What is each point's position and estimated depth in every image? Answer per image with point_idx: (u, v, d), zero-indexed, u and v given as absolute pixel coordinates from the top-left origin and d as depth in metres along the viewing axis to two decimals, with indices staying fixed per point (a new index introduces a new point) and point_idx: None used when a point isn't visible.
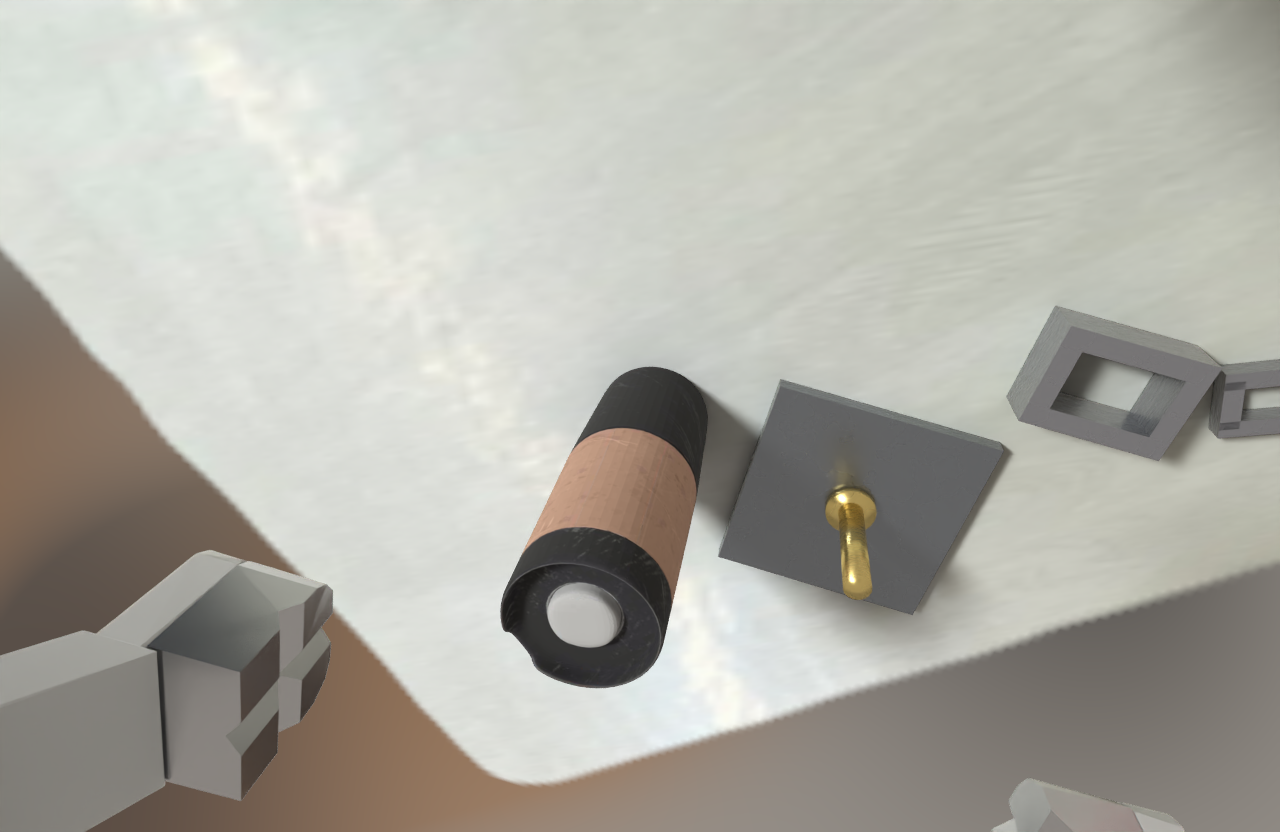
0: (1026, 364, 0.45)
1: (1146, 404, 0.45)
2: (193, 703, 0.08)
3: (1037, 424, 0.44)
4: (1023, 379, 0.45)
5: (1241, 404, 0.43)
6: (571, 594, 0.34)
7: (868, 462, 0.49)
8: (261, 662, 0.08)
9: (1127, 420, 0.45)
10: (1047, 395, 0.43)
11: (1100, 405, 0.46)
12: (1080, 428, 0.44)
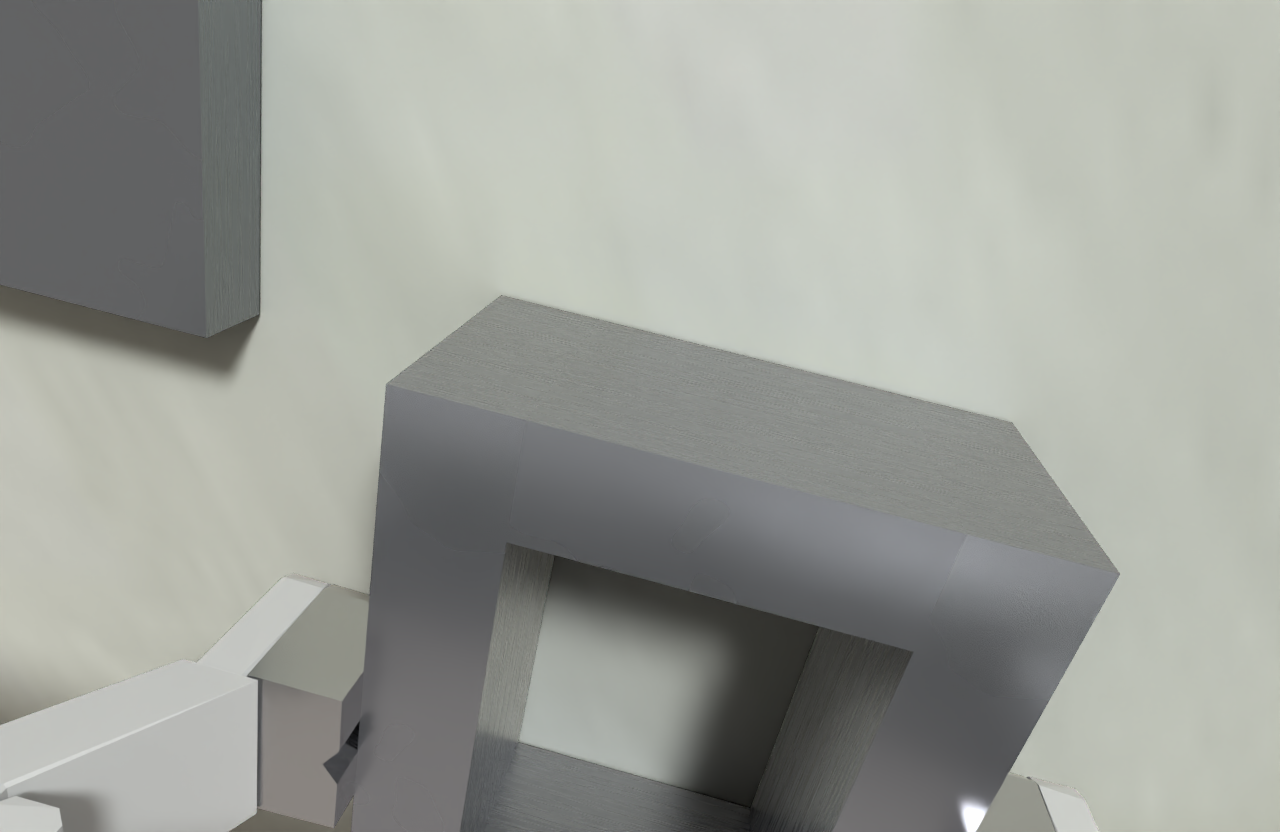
0: (697, 354, 0.09)
1: (570, 820, 0.11)
2: (291, 731, 0.08)
3: (388, 495, 0.07)
4: (626, 355, 0.08)
5: None
6: None
7: None
8: (357, 689, 0.08)
9: (492, 791, 0.10)
10: (595, 517, 0.07)
11: (529, 663, 0.11)
12: (418, 698, 0.08)
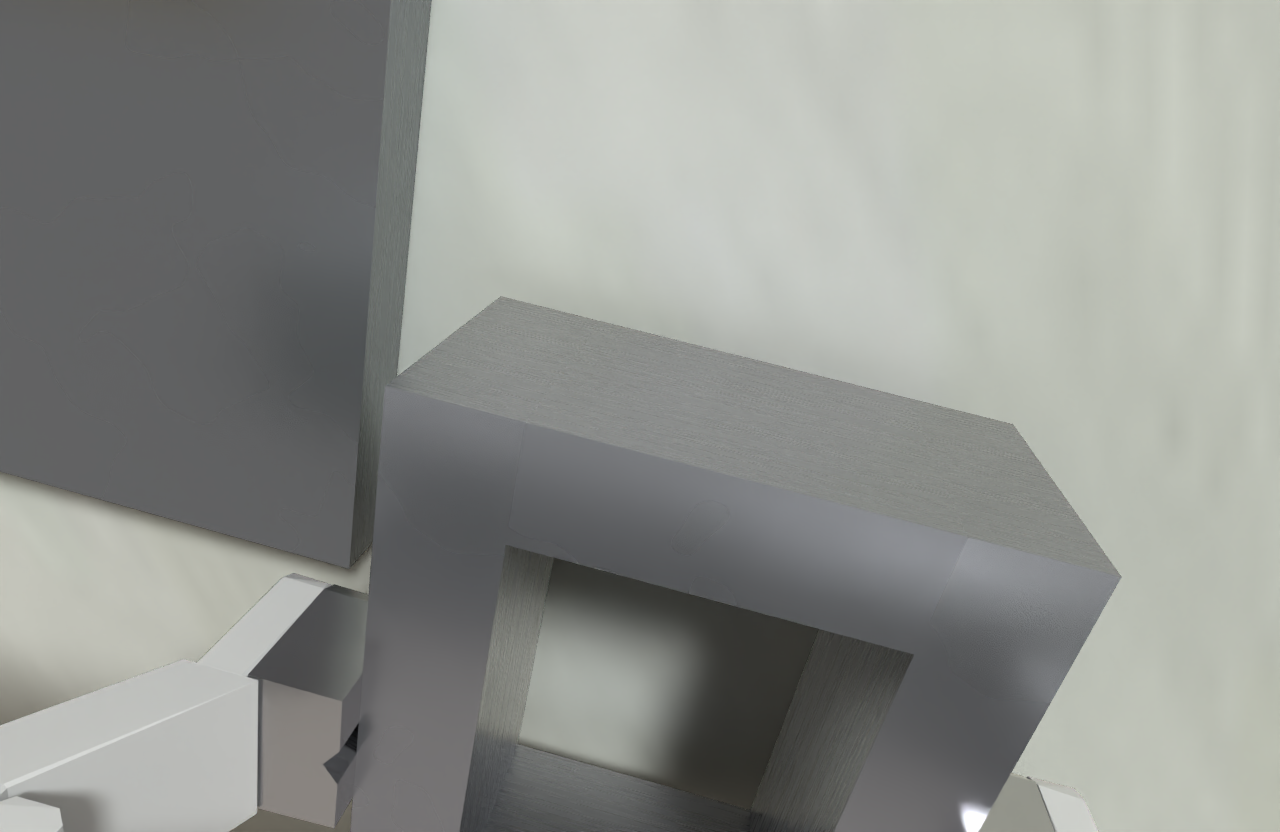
0: (697, 355, 0.09)
1: (570, 822, 0.11)
2: (291, 731, 0.08)
3: (387, 496, 0.07)
4: (626, 356, 0.08)
5: None
6: None
7: None
8: (357, 689, 0.08)
9: (491, 793, 0.10)
10: (595, 519, 0.07)
11: (529, 665, 0.11)
12: (417, 700, 0.08)
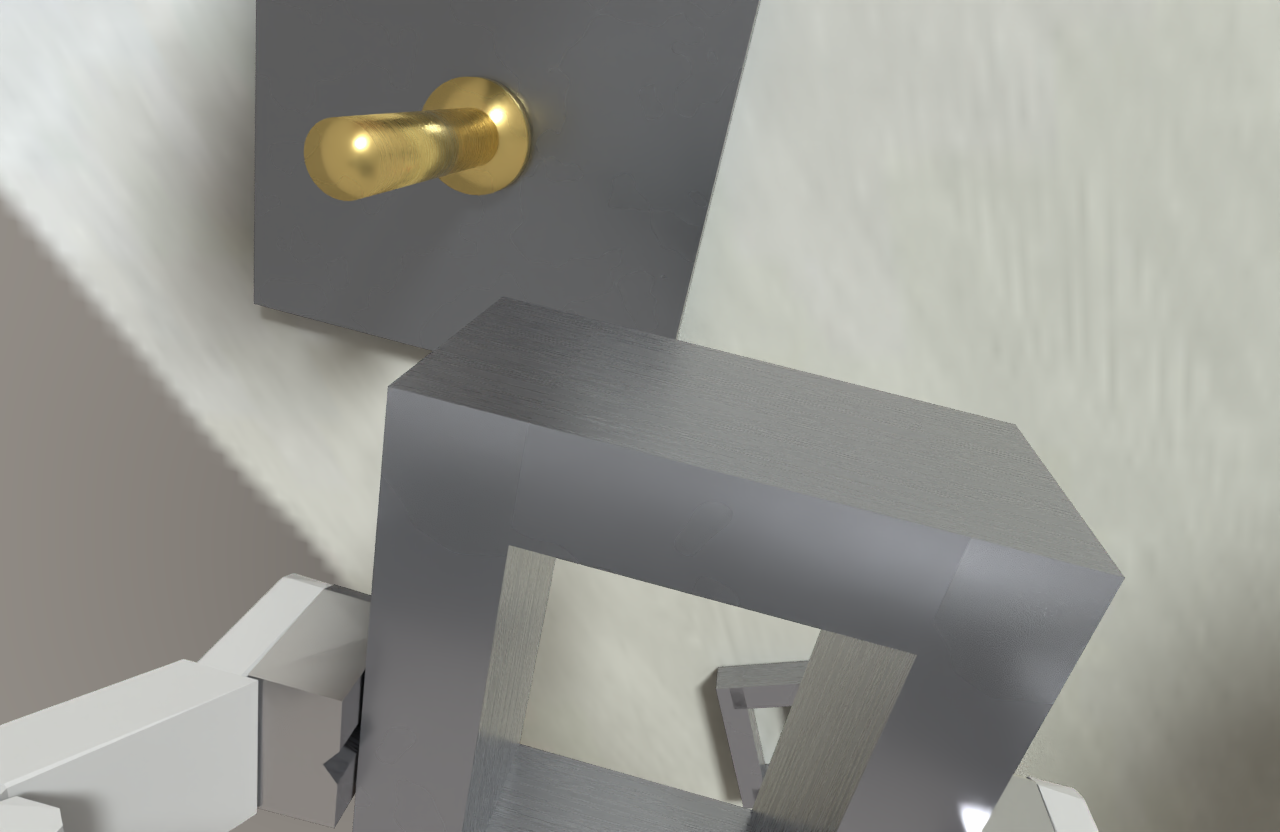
0: (699, 355, 0.09)
1: (572, 822, 0.11)
2: (291, 732, 0.08)
3: (390, 497, 0.07)
4: (628, 356, 0.08)
5: (774, 704, 0.29)
6: None
7: (599, 161, 0.23)
8: (359, 689, 0.08)
9: (493, 793, 0.10)
10: (598, 520, 0.07)
11: (531, 664, 0.11)
12: (420, 700, 0.08)
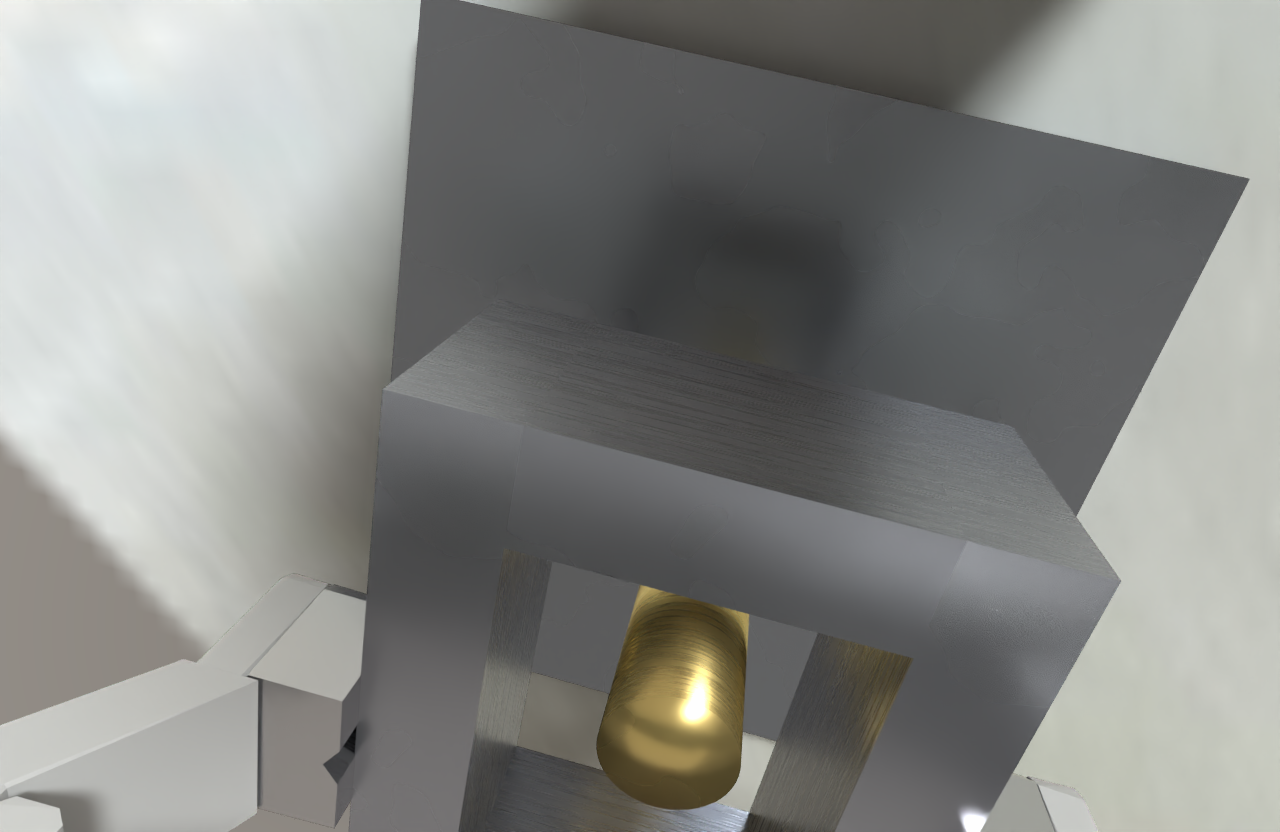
0: (696, 358, 0.09)
1: (569, 824, 0.11)
2: (291, 731, 0.08)
3: (385, 500, 0.07)
4: (625, 359, 0.08)
5: None
6: None
7: None
8: (357, 688, 0.08)
9: (490, 796, 0.10)
10: (593, 523, 0.07)
11: (528, 666, 0.11)
12: (416, 704, 0.08)
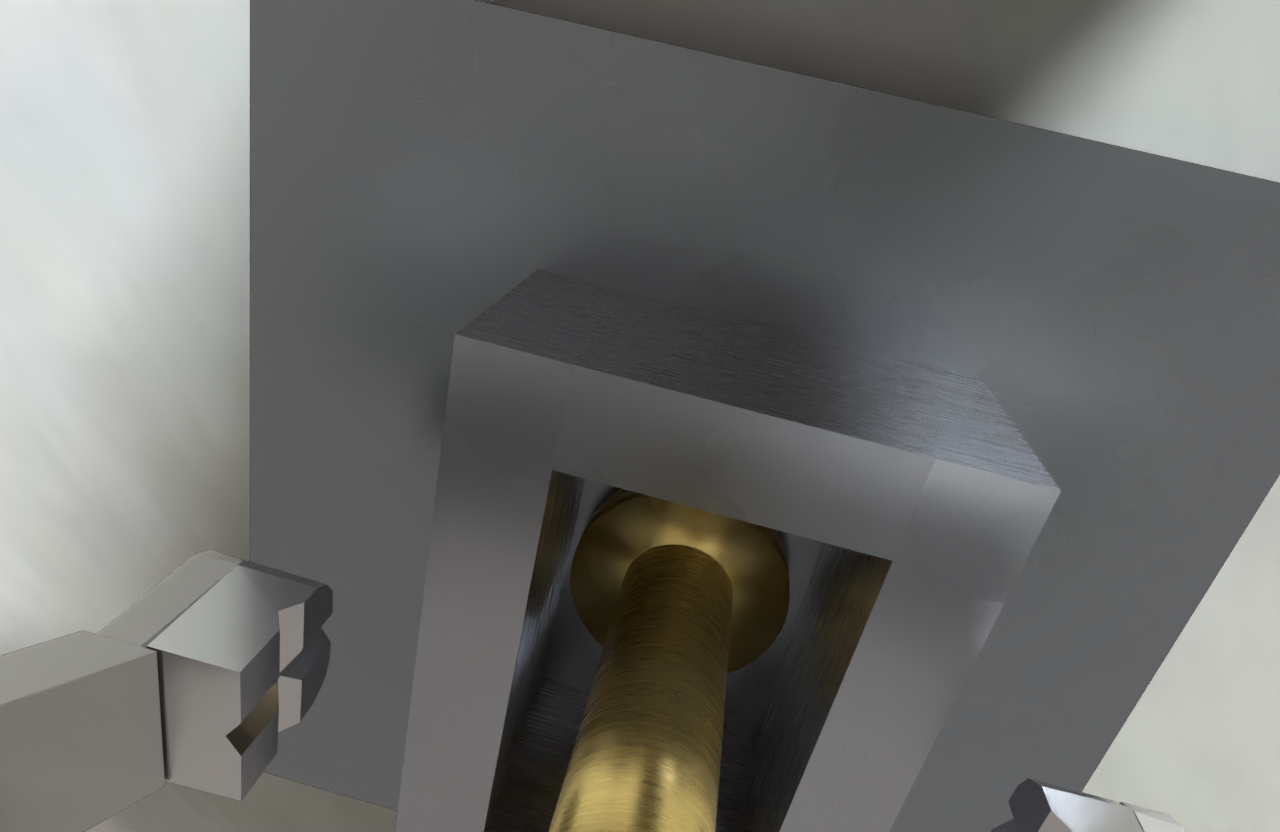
0: (709, 320, 0.10)
1: None
2: (193, 703, 0.08)
3: (453, 429, 0.08)
4: (649, 319, 0.10)
5: None
6: None
7: None
8: (260, 662, 0.08)
9: (523, 711, 0.12)
10: (628, 447, 0.08)
11: (557, 601, 0.12)
12: (471, 609, 0.09)
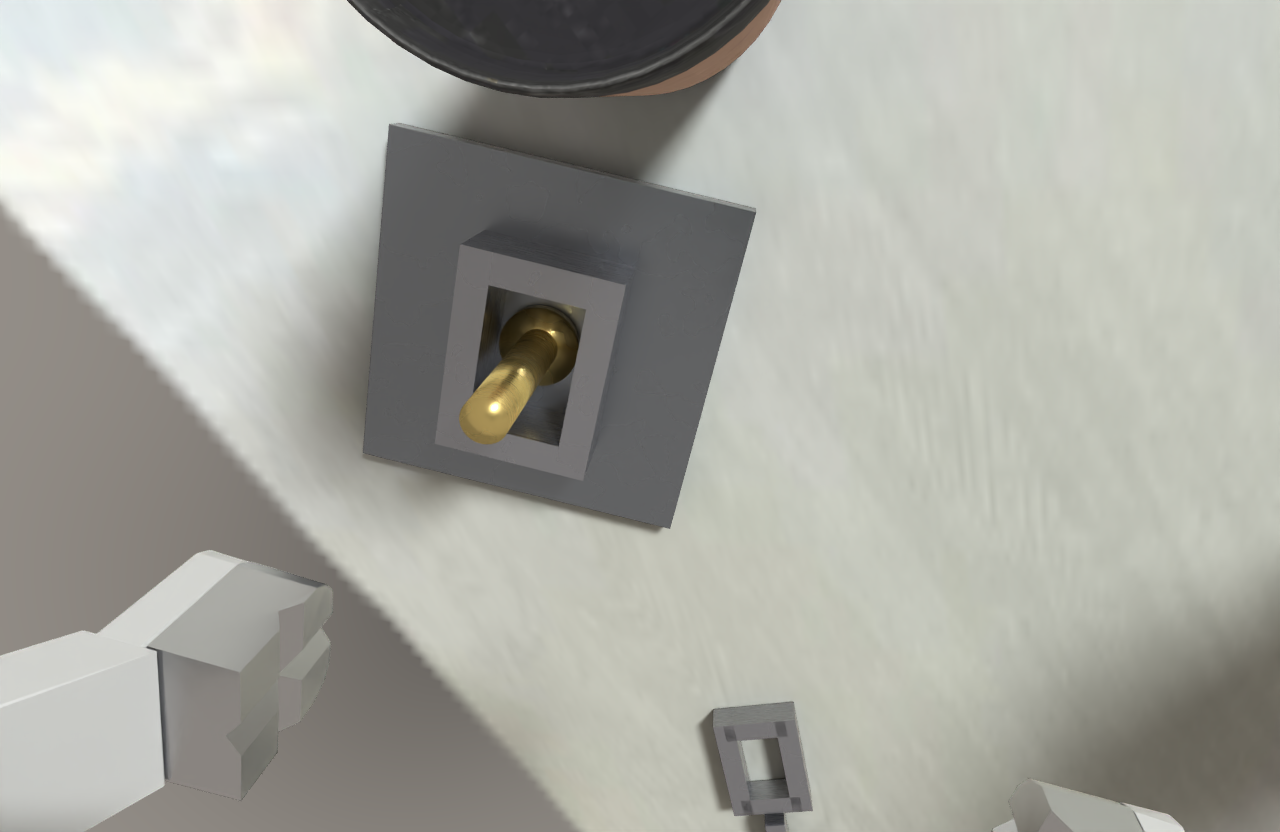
0: (542, 246, 0.30)
1: None
2: (193, 703, 0.08)
3: (459, 273, 0.28)
4: (521, 244, 0.29)
5: (757, 737, 0.38)
6: None
7: (629, 361, 0.32)
8: (260, 661, 0.08)
9: None
10: (510, 277, 0.28)
11: (494, 357, 0.32)
12: (464, 334, 0.29)
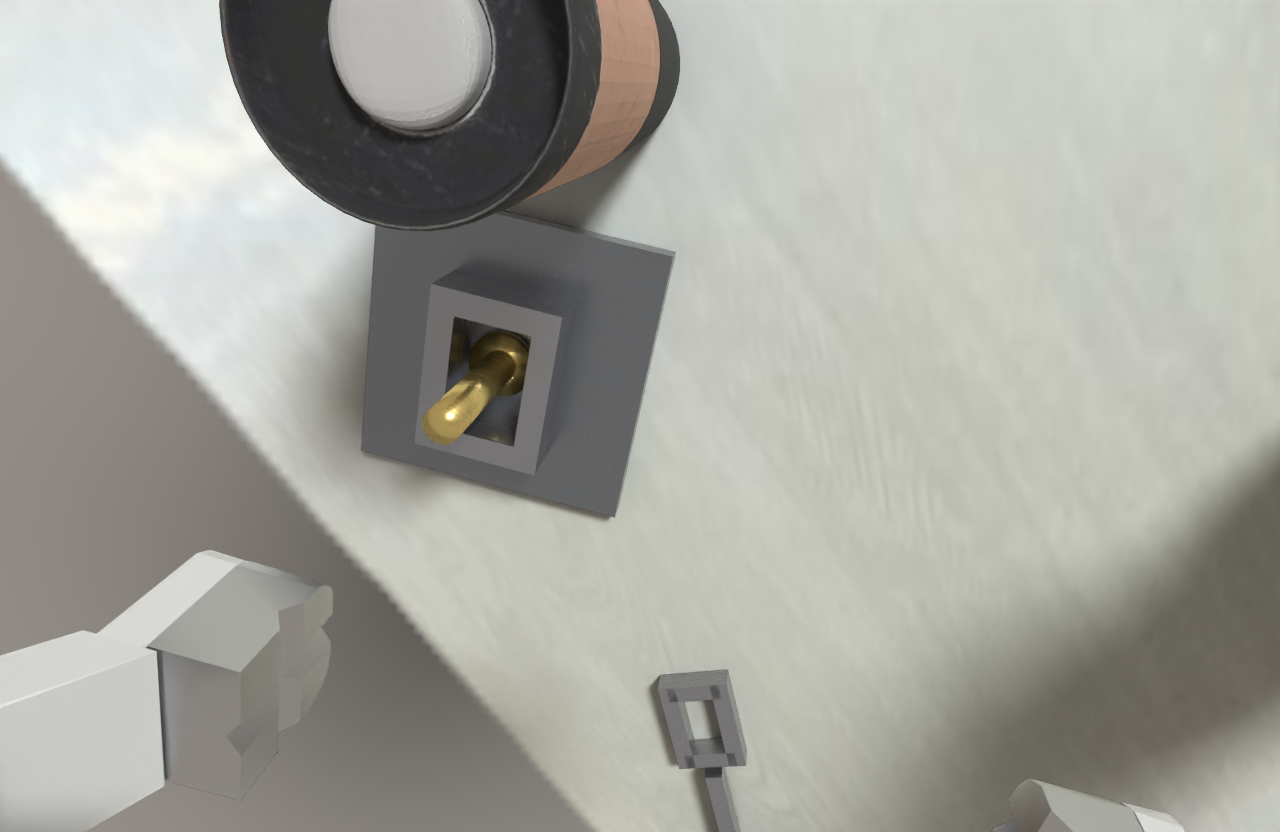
0: (502, 283, 0.37)
1: (476, 417, 0.39)
2: (192, 703, 0.08)
3: (430, 306, 0.35)
4: (483, 282, 0.36)
5: (695, 699, 0.45)
6: (471, 17, 0.15)
7: (575, 377, 0.38)
8: (260, 661, 0.08)
9: None
10: (470, 310, 0.35)
11: (465, 372, 0.39)
12: (436, 355, 0.36)
